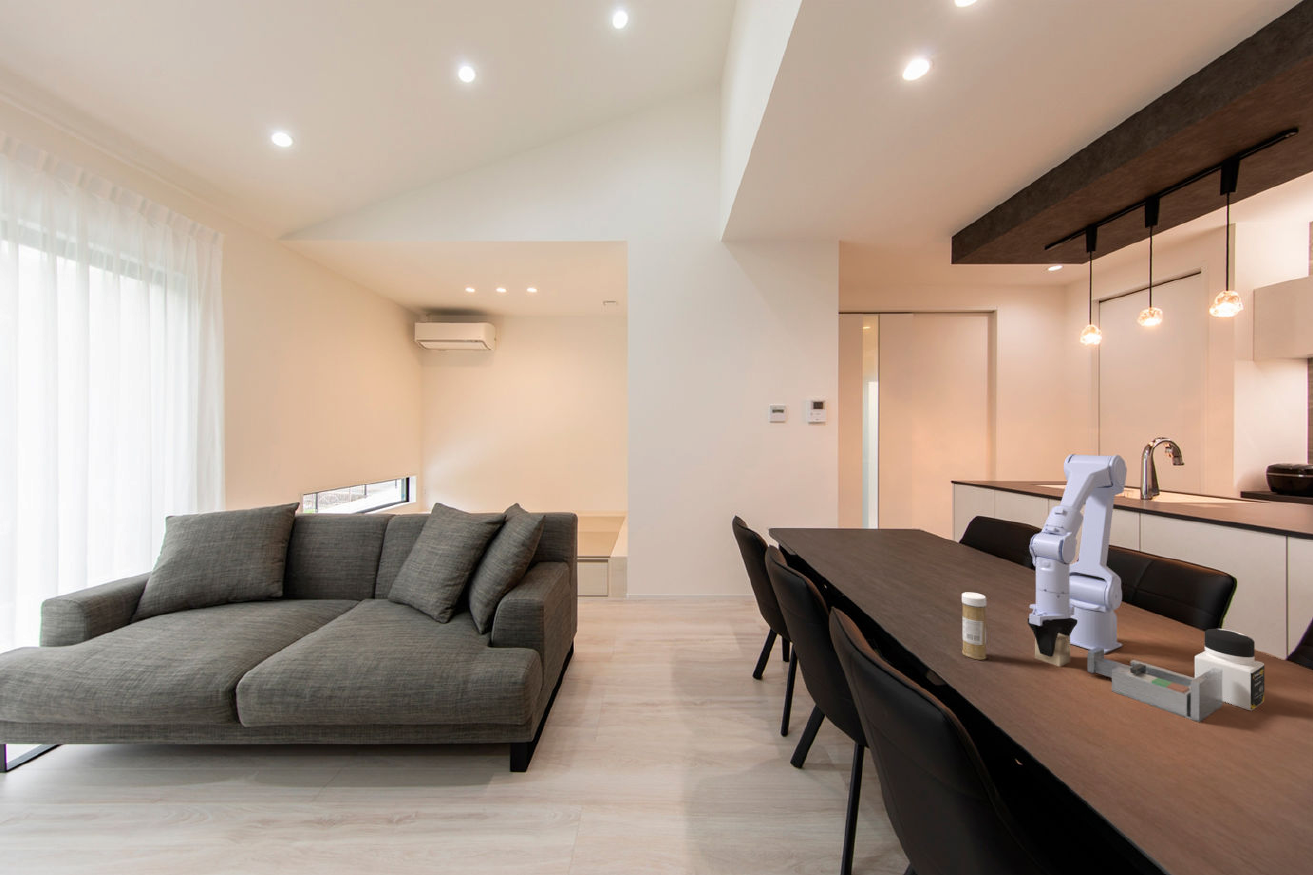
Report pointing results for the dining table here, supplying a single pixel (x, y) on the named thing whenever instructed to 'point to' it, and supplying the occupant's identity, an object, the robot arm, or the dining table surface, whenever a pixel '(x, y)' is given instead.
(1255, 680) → the medicine bottle
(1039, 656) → the block
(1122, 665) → the grey l-shaped piece
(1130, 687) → the gauge housing
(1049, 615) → the robot arm
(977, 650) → the sprinkles bottle
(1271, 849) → the dining table surface
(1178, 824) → the dining table surface
